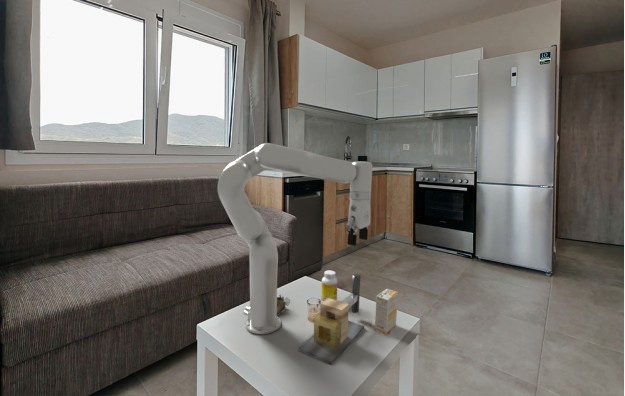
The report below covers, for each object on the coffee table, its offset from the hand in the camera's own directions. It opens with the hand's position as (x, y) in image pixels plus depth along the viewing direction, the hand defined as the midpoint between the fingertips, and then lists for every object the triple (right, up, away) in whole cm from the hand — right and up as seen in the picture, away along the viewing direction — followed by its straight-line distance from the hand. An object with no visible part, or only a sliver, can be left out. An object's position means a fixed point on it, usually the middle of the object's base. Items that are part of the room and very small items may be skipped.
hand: (357, 242), depth 118 cm
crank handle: (-5, -28, -3) cm, 28 cm away
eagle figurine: (-30, -29, +8) cm, 43 cm away
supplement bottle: (-10, -28, +18) cm, 34 cm away
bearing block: (-10, -31, -9) cm, 34 cm away
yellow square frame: (-12, -31, -14) cm, 36 cm away
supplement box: (+10, -31, -2) cm, 33 cm away
